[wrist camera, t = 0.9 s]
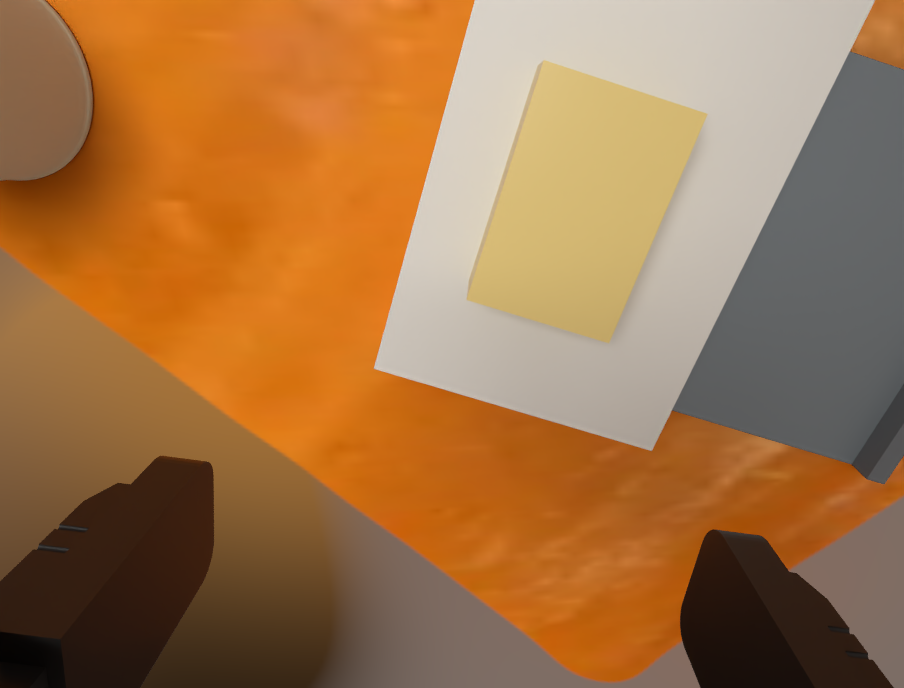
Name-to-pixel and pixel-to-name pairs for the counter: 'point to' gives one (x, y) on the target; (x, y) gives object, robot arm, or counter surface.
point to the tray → (823, 292)
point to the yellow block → (580, 200)
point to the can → (40, 91)
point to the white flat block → (682, 228)
